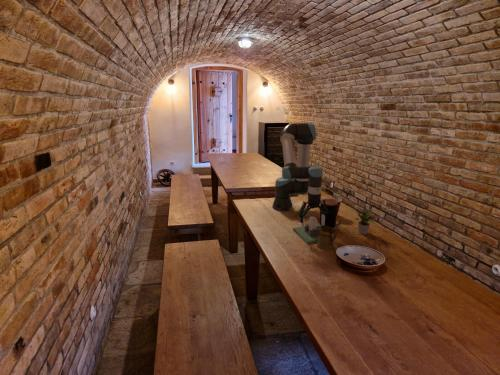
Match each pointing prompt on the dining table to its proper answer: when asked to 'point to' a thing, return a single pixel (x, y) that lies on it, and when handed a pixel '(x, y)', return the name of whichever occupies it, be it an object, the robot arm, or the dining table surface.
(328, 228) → the wooden mug
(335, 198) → the plastic cup
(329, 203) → the coffee jar
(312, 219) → the plug
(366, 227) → the house plant
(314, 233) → the board
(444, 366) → the dining table surface
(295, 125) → the robot arm
